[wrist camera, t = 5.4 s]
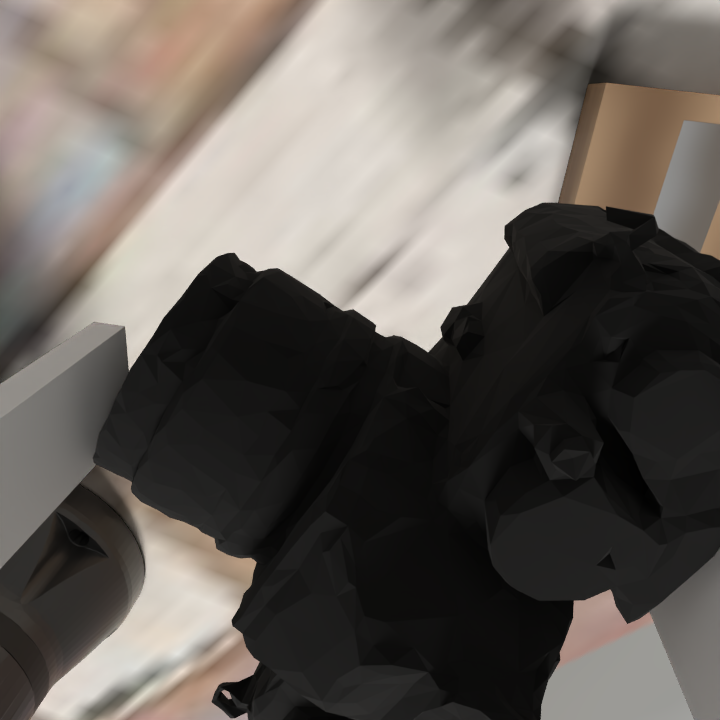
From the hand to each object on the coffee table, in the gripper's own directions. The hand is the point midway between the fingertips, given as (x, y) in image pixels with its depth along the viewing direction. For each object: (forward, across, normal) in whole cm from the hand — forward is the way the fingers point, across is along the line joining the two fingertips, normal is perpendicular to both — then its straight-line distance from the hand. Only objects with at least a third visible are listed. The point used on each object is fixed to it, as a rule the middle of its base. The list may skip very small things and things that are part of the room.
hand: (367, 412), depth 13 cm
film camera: (+3, 0, -1) cm, 3 cm away
